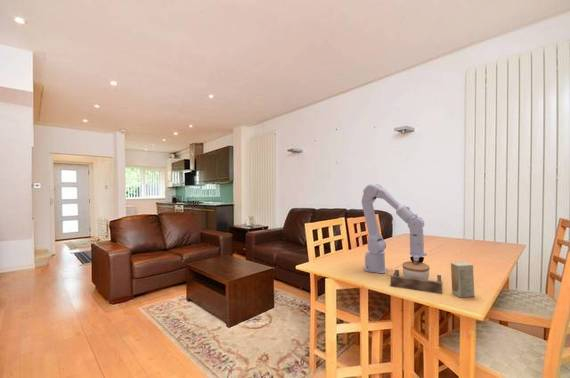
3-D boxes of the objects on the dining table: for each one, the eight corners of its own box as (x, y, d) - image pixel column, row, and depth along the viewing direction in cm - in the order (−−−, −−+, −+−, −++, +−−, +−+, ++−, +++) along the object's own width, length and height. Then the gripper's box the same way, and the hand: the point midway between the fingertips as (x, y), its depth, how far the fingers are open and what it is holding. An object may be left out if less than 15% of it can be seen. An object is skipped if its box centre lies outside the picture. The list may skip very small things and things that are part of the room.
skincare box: (466, 292, 105) (466, 261, 105) (475, 296, 100) (474, 264, 100) (450, 293, 105) (450, 262, 105) (458, 297, 100) (457, 265, 100)
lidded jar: (427, 289, 109) (427, 267, 109) (400, 284, 115) (399, 262, 115) (431, 281, 118) (431, 260, 117) (405, 276, 124) (405, 256, 124)
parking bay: (390, 285, 114) (390, 276, 114) (395, 274, 128) (395, 266, 128) (441, 293, 104) (441, 283, 104) (441, 280, 118) (441, 271, 118)
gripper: (426, 247, 114) (426, 278, 114) (426, 241, 127) (427, 269, 127) (408, 246, 118) (408, 276, 118) (410, 240, 130) (411, 267, 130)
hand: (417, 272), depth 122 cm, fingers closed
